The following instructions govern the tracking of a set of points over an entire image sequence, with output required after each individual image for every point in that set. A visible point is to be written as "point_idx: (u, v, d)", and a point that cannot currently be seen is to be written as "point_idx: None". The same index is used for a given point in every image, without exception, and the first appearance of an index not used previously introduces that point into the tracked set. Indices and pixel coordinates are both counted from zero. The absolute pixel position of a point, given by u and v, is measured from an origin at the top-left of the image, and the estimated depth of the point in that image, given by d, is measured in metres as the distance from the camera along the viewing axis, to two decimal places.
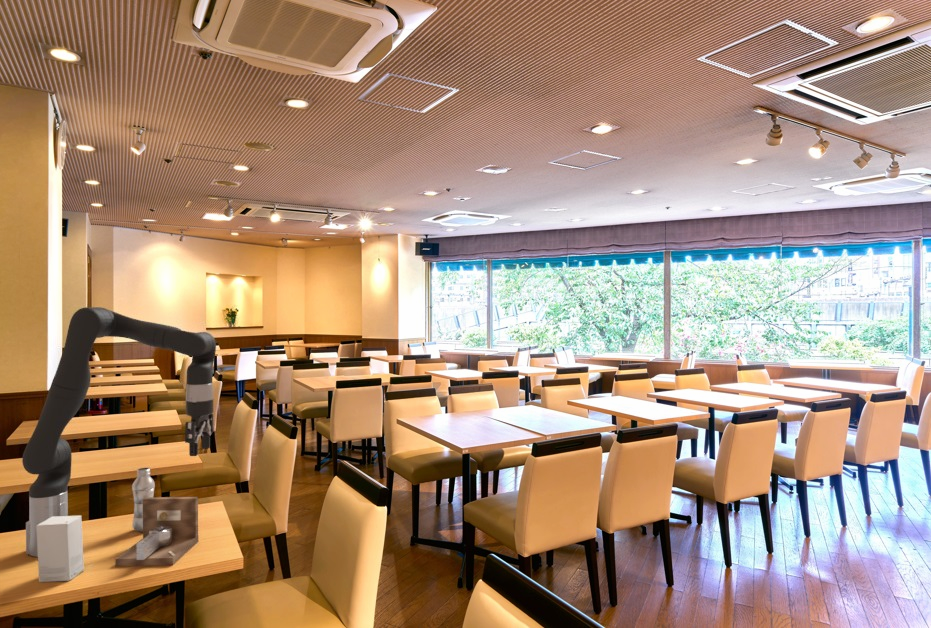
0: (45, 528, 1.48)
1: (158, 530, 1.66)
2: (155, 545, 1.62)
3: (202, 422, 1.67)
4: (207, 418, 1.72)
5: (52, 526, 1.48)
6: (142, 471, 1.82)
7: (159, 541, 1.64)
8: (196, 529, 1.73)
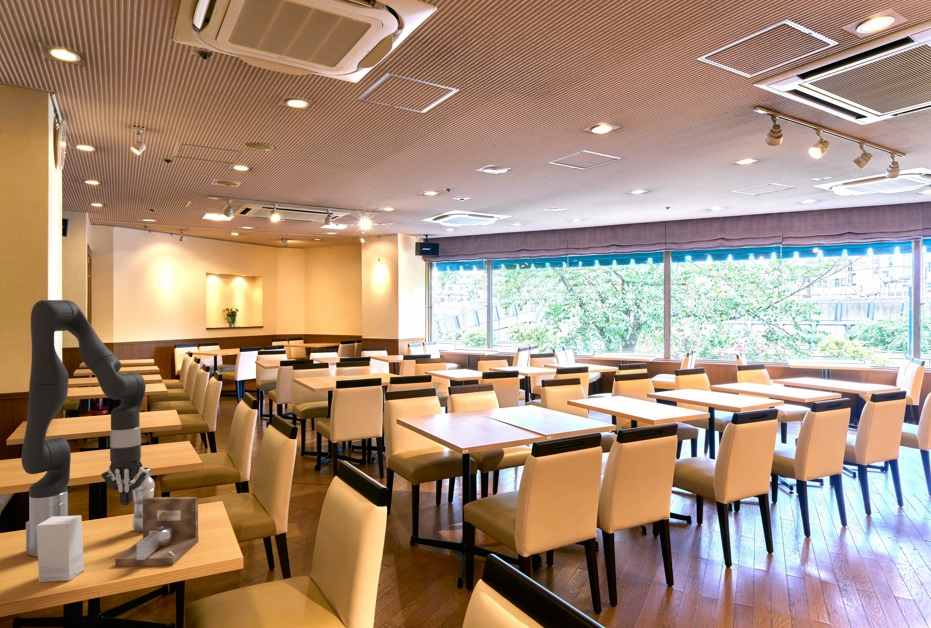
0: (45, 528, 1.48)
1: (158, 530, 1.66)
2: (155, 545, 1.62)
3: None
4: None
5: (52, 526, 1.48)
6: None
7: (159, 541, 1.64)
8: (196, 529, 1.73)
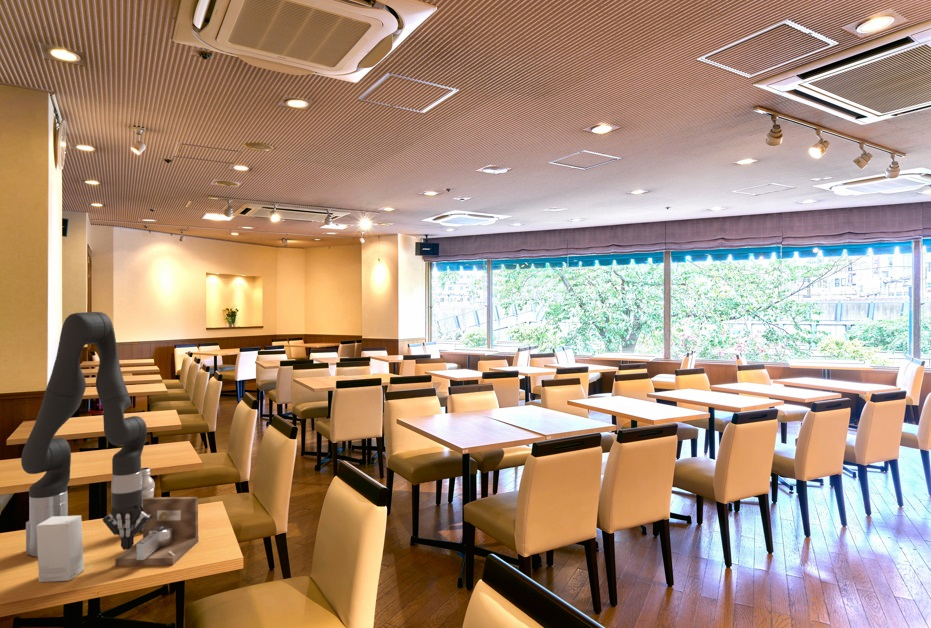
0: (45, 528, 1.48)
1: (158, 530, 1.66)
2: (155, 545, 1.62)
3: None
4: None
5: (52, 526, 1.48)
6: (142, 471, 1.82)
7: (159, 541, 1.64)
8: (196, 529, 1.73)
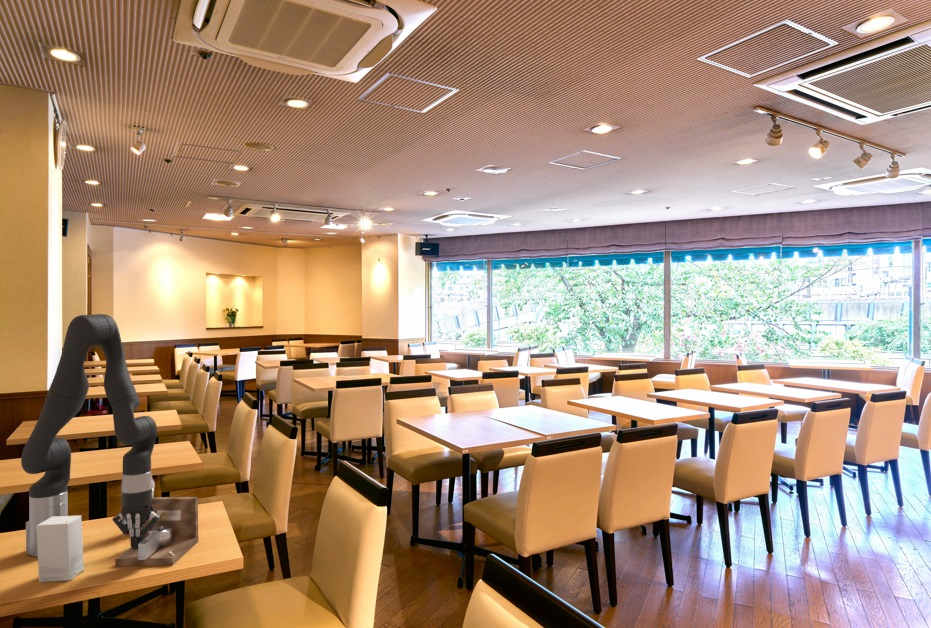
0: (45, 528, 1.48)
1: (158, 530, 1.66)
2: (156, 545, 1.62)
3: None
4: None
5: (52, 526, 1.48)
6: None
7: (160, 541, 1.64)
8: (196, 529, 1.73)
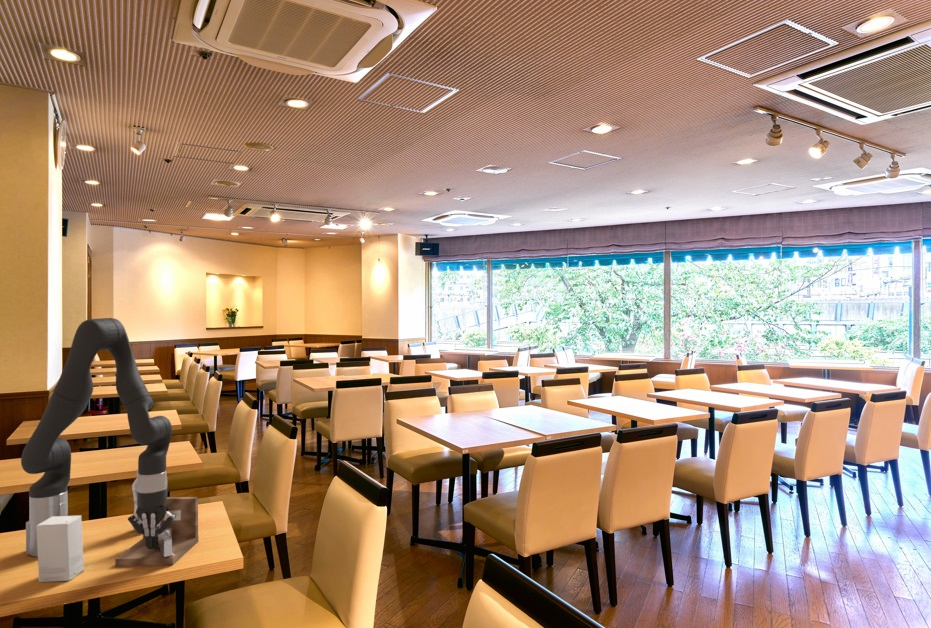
0: (45, 528, 1.48)
1: None
2: None
3: None
4: None
5: (52, 526, 1.48)
6: None
7: None
8: (196, 529, 1.73)
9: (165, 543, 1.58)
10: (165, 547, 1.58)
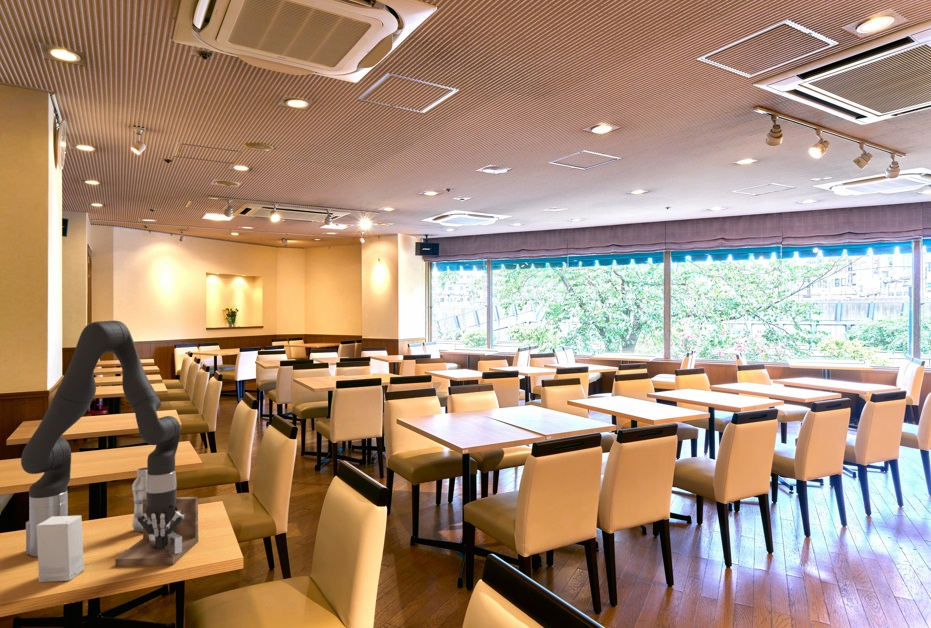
0: (46, 528, 1.48)
1: None
2: None
3: None
4: None
5: (52, 526, 1.48)
6: (142, 471, 1.82)
7: None
8: (196, 529, 1.73)
9: (176, 540, 1.60)
10: (176, 544, 1.60)
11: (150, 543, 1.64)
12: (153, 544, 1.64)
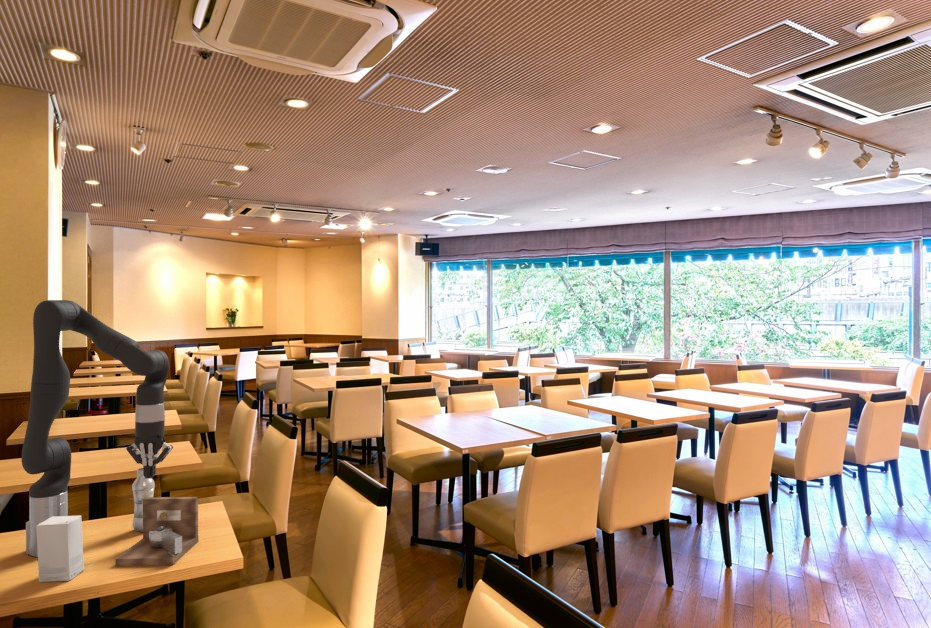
0: (45, 528, 1.48)
1: (161, 530, 1.66)
2: None
3: None
4: None
5: (52, 526, 1.48)
6: (142, 471, 1.82)
7: None
8: (196, 529, 1.73)
9: (176, 540, 1.60)
10: (176, 544, 1.60)
11: (150, 543, 1.64)
12: (153, 544, 1.64)
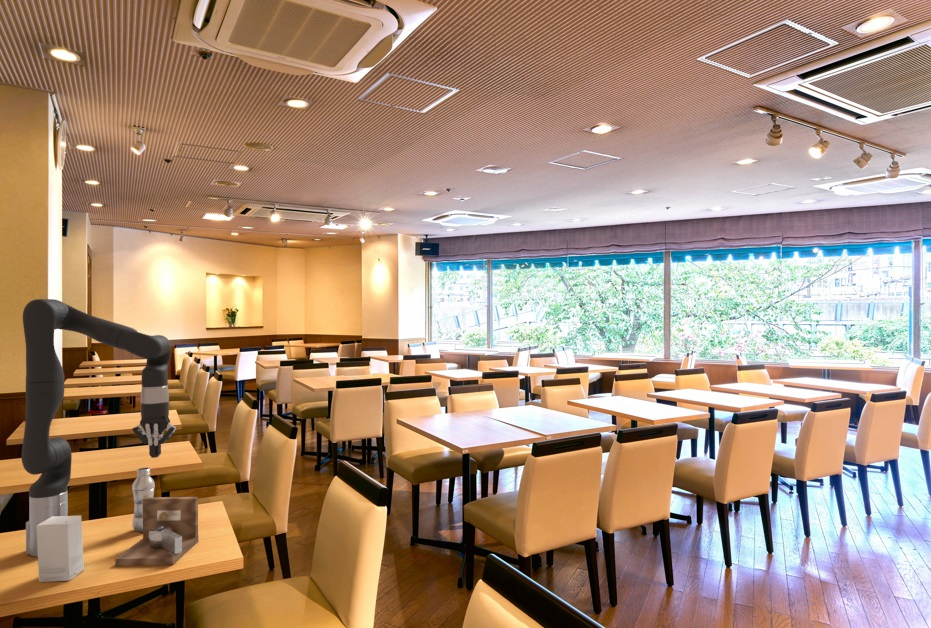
0: (45, 528, 1.48)
1: (161, 530, 1.66)
2: None
3: None
4: None
5: (52, 526, 1.48)
6: (142, 471, 1.82)
7: None
8: (196, 529, 1.73)
9: (176, 540, 1.60)
10: (176, 544, 1.60)
11: (150, 543, 1.64)
12: (153, 544, 1.64)
